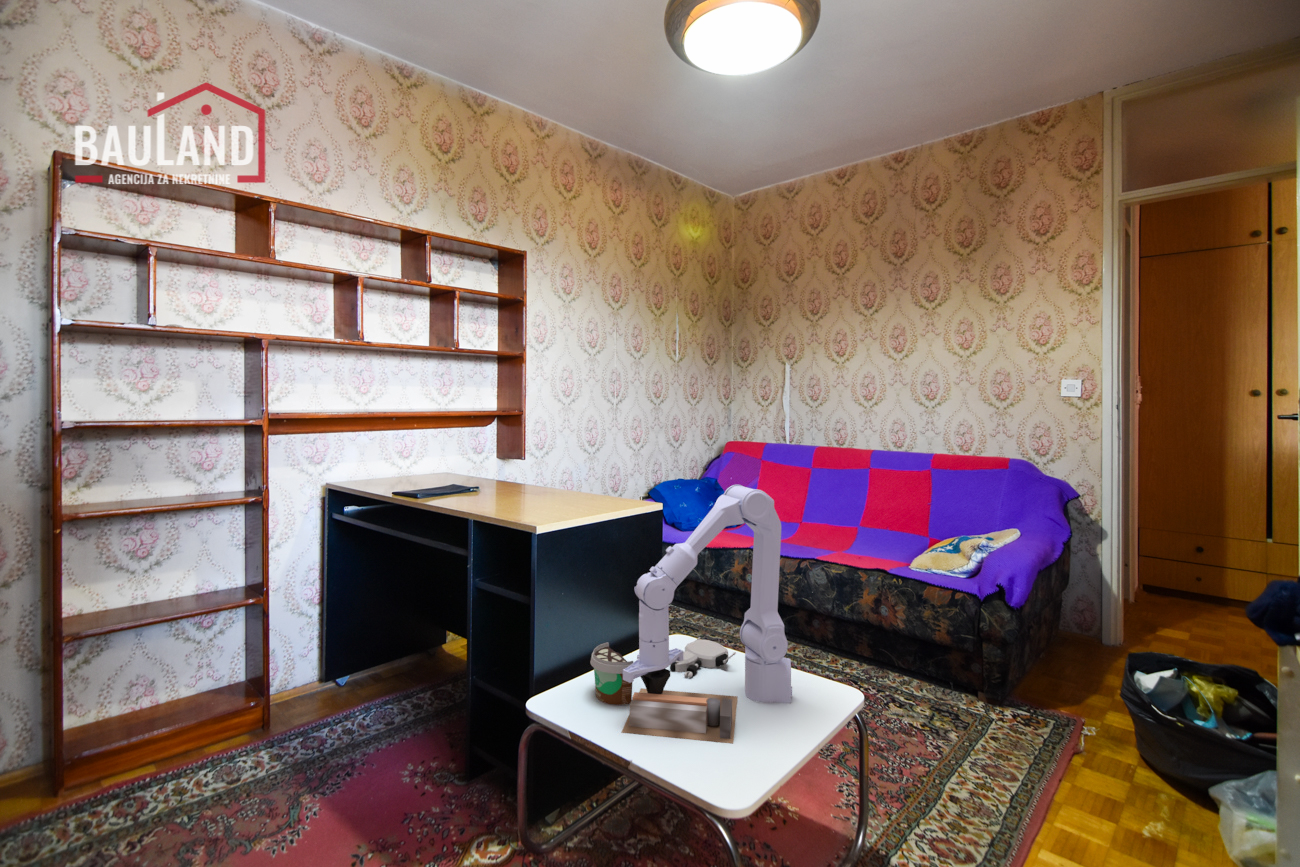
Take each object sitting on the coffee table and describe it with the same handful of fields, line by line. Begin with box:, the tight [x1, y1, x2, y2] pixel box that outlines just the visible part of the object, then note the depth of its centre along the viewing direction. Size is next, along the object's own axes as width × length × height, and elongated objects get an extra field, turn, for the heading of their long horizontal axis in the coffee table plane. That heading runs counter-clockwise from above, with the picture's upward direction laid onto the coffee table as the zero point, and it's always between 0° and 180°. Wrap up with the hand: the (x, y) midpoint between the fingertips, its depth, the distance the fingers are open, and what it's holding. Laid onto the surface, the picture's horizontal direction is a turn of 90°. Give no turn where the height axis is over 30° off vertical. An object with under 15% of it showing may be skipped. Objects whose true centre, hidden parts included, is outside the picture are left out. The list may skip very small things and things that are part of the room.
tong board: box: [620, 688, 739, 745], centre depth 117 cm, size 20×18×5 cm
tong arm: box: [632, 691, 720, 726], centre depth 114 cm, size 16×3×4 cm, turn 80°
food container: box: [589, 642, 634, 706], centre depth 124 cm, size 12×6×10 cm, turn 29°
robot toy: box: [669, 636, 737, 678], centre depth 141 cm, size 12×4×15 cm
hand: (654, 706), depth 118 cm, fingers closed
